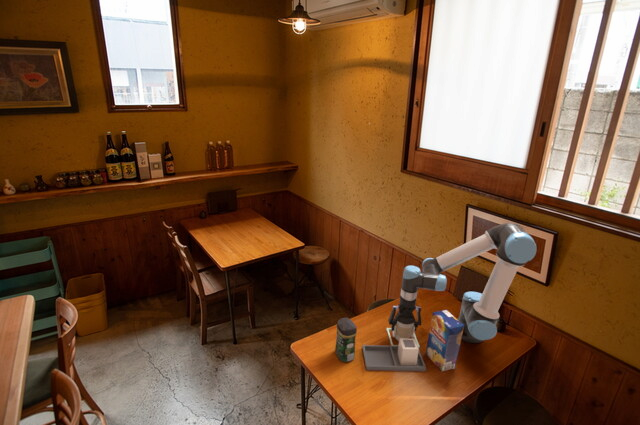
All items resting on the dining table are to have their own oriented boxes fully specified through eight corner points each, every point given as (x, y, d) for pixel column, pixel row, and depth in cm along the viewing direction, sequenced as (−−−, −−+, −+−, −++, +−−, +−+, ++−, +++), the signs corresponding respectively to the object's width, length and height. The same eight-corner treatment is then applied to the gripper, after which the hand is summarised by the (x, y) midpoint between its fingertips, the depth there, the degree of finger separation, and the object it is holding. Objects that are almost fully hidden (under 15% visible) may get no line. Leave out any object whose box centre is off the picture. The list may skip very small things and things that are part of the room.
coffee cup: (411, 347, 172) (415, 321, 167) (392, 344, 173) (396, 318, 168) (411, 335, 180) (414, 310, 175) (393, 332, 182) (396, 307, 177)
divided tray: (416, 351, 169) (417, 346, 168) (425, 373, 156) (426, 367, 155) (362, 350, 168) (362, 344, 167) (366, 371, 156) (366, 366, 155)
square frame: (412, 330, 183) (412, 328, 183) (419, 349, 170) (419, 346, 170) (386, 330, 183) (386, 327, 182) (391, 348, 170) (391, 346, 170)
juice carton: (455, 369, 159) (464, 325, 151) (441, 373, 156) (450, 328, 148) (438, 351, 169) (446, 309, 161) (425, 355, 167) (432, 312, 159)
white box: (412, 354, 166) (414, 338, 162) (416, 365, 159) (418, 348, 156) (397, 354, 165) (399, 337, 162) (400, 365, 159) (403, 348, 156)
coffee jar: (332, 350, 167) (334, 317, 161) (347, 346, 170) (349, 314, 164) (341, 364, 159) (344, 330, 153) (356, 360, 162) (360, 326, 156)
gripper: (428, 292, 172) (421, 331, 180) (384, 291, 172) (380, 330, 179) (432, 301, 165) (426, 341, 173) (387, 300, 164) (383, 340, 172)
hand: (402, 335), depth 176 cm, fingers closed on coffee cup, 8 cm apart
